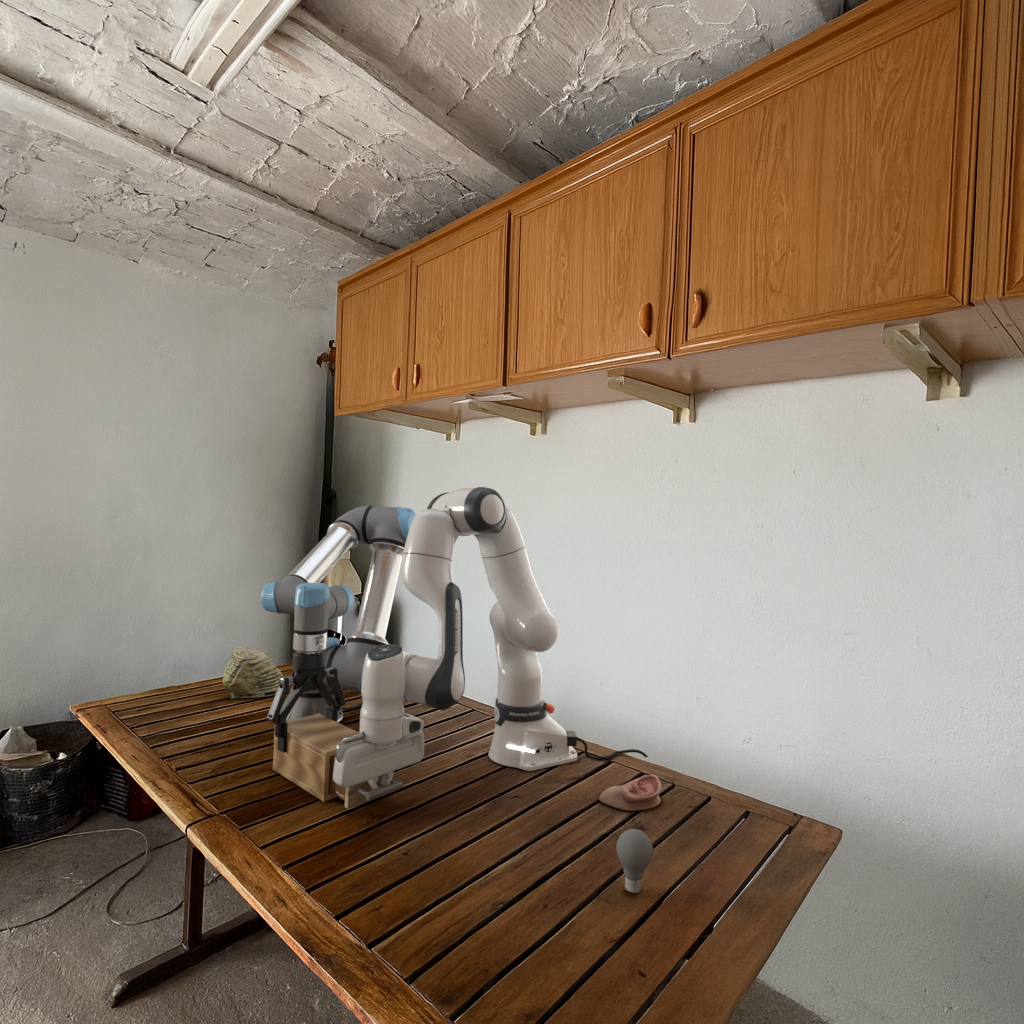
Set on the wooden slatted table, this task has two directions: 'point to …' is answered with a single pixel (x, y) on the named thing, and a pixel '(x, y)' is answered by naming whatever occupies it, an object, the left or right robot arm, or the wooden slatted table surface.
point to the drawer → (359, 789)
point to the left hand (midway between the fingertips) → (306, 743)
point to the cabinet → (310, 753)
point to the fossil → (251, 674)
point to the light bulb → (634, 857)
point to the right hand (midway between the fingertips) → (379, 794)
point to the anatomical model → (634, 794)
